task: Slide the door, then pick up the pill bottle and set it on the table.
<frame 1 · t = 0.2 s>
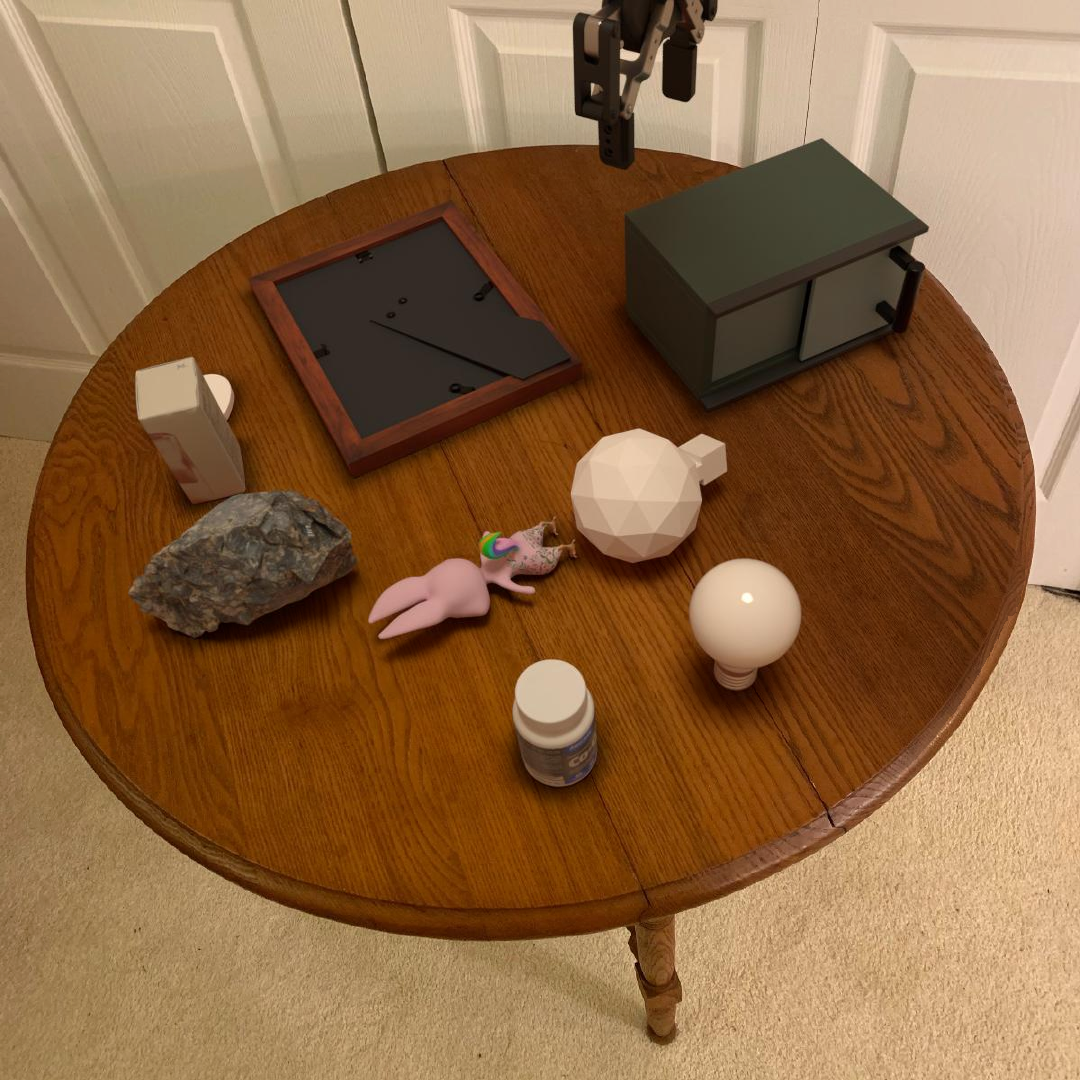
hand: (648, 129, 67), 19 cm above the table, tool pointing down, fingers open, 8 cm apart
rock: (263, 604, 70), on the table
lightbulb: (734, 677, 64), on the table
pill bottle: (560, 753, 62), on the table
door: (867, 311, 75), point 5 cm above the table, slide at 0.0 cm
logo: (195, 403, 82), on the table
cream cardboard box: (217, 478, 78), on the table
rabbit figure: (477, 596, 69), on the table
perfume bottle: (655, 529, 71), on the table
picture frame: (409, 334, 85), on the table
cabinet: (755, 316, 83), on the table
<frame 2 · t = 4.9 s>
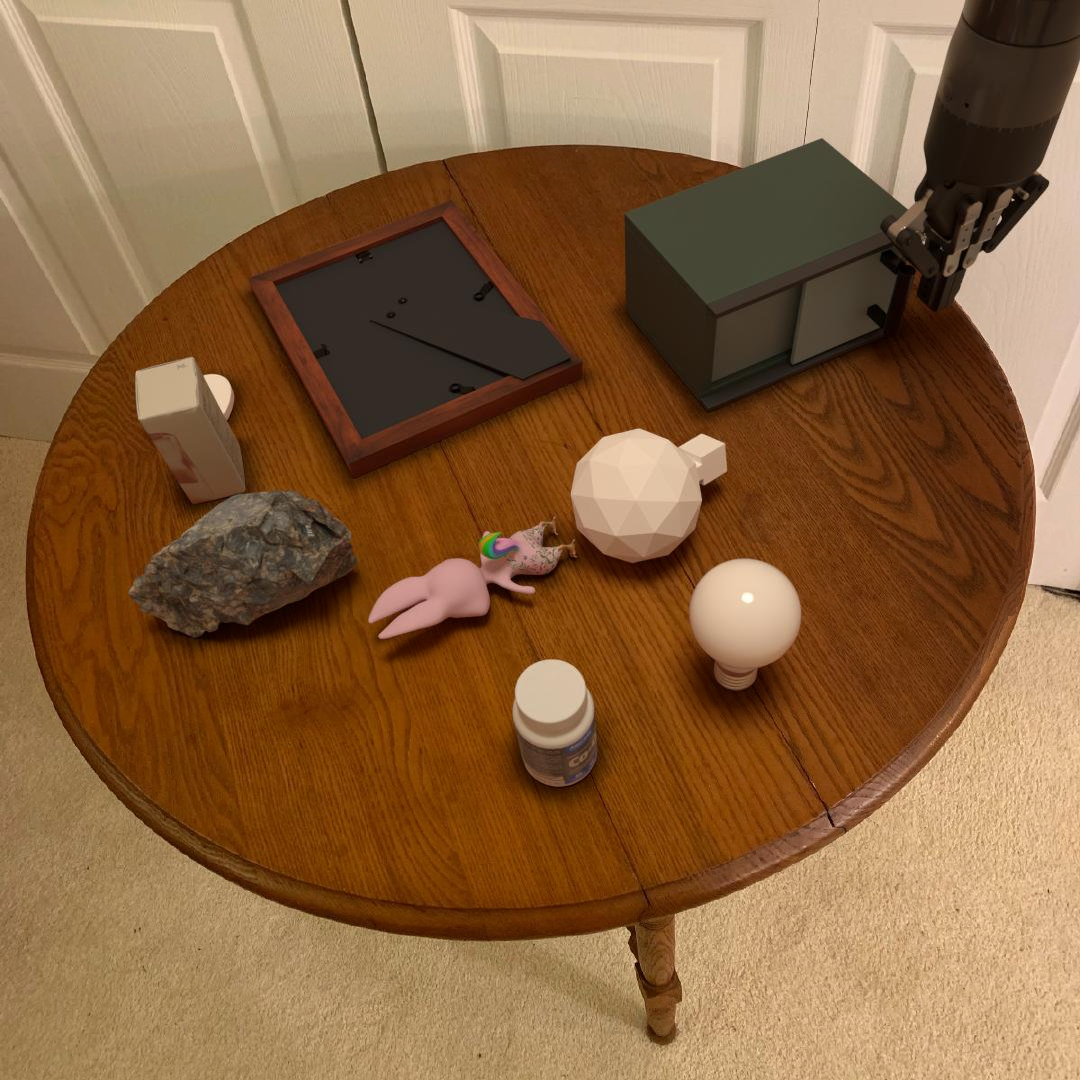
hand: (934, 302, 76), 4 cm above the table, tool pointing down, fingers closed
door: (858, 315, 75), point 5 cm above the table, slide at 0.8 cm, touching hand
everything else where it was.
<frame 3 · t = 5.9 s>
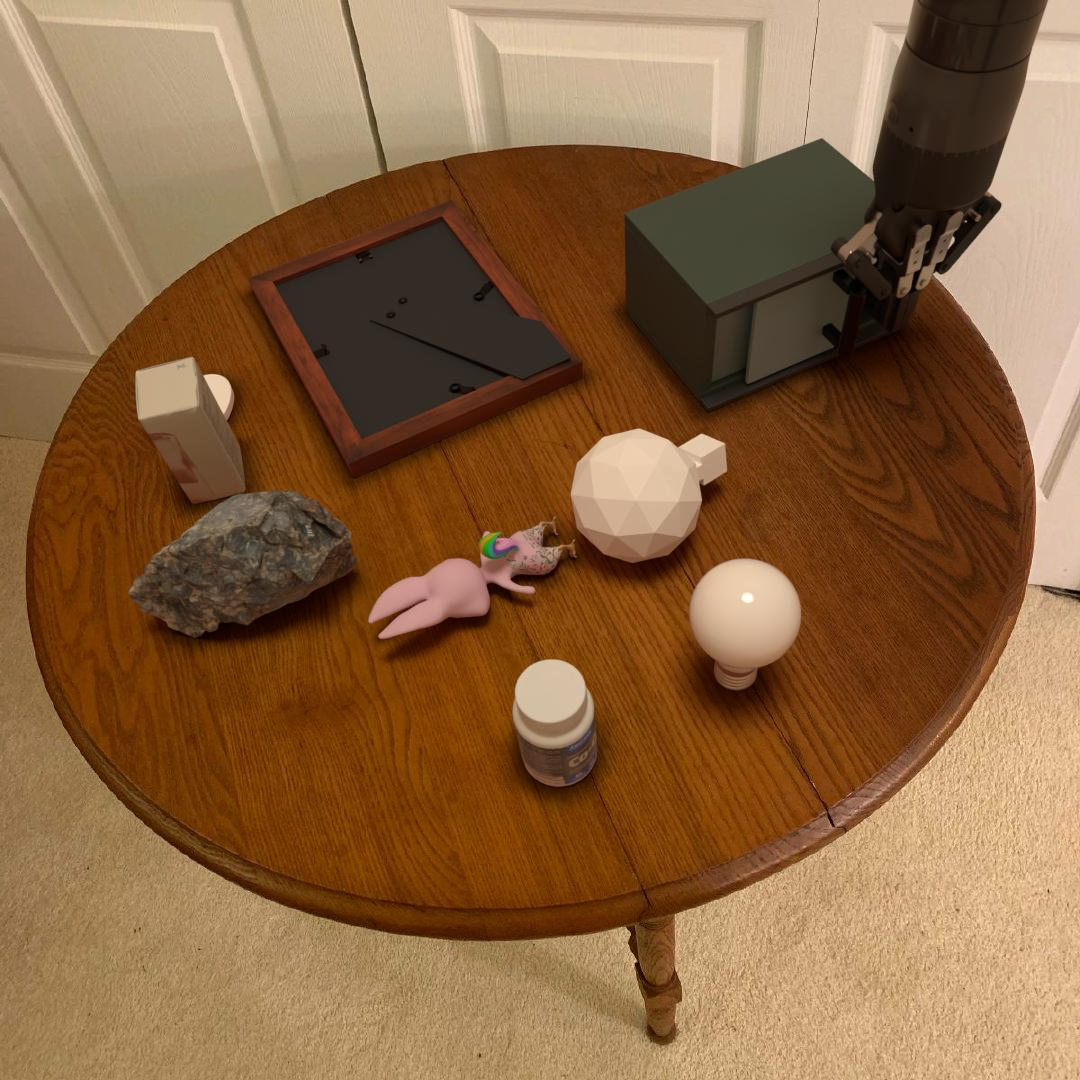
hand: (890, 322, 76), 4 cm above the table, tool pointing down, fingers closed
door: (811, 334, 74), point 5 cm above the table, slide at 5.0 cm, touching hand
everything else where it was.
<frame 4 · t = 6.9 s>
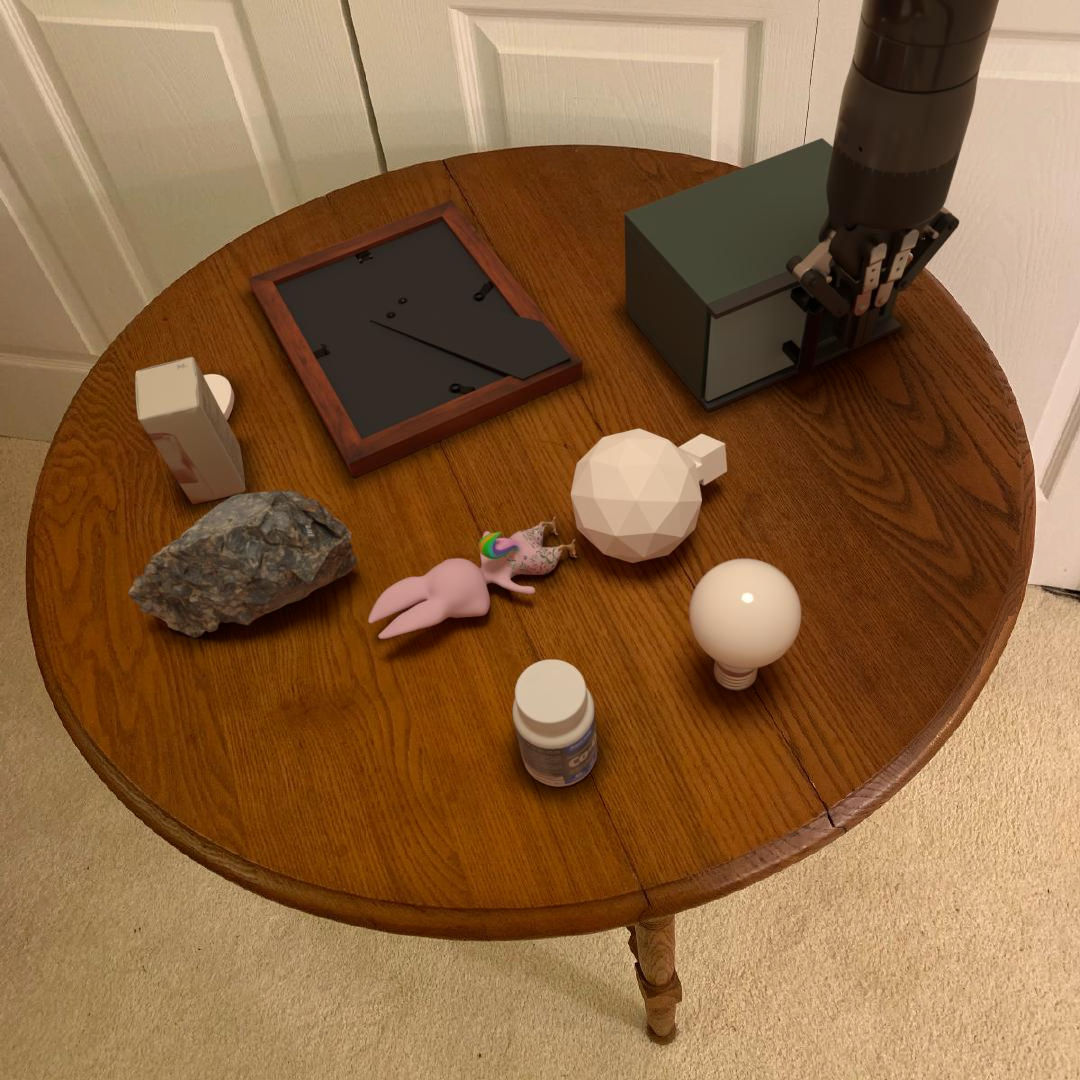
hand: (851, 339, 75), 4 cm above the table, tool pointing down, fingers closed
door: (770, 352, 73), point 5 cm above the table, slide at 8.5 cm, touching hand
everything else where it was.
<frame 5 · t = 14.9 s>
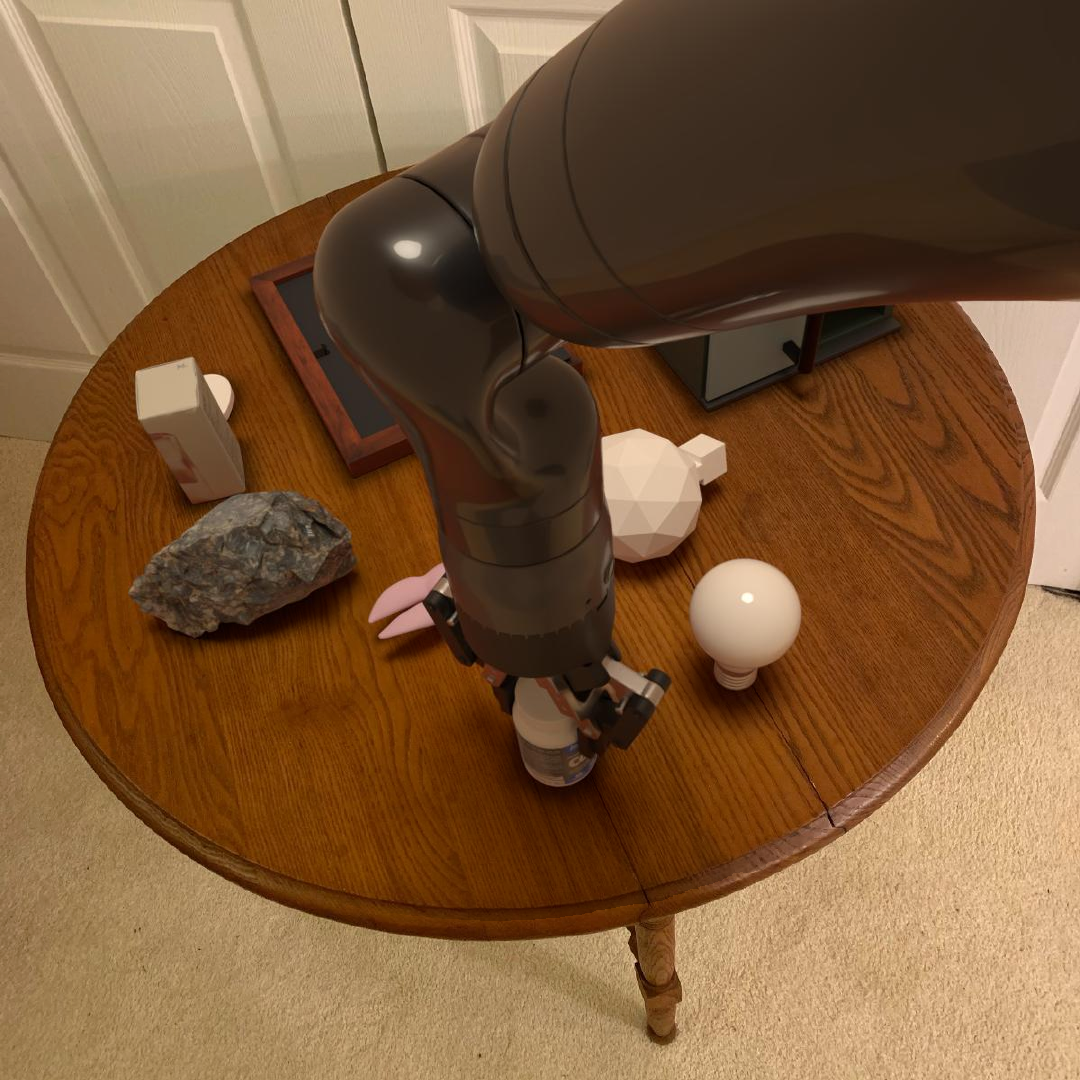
hand: (555, 721, 58), 4 cm above the table, tool pointing down, fingers closed on pill bottle, 4 cm apart
pill bottle: (560, 753, 62), on the table, touching gripper
door: (771, 352, 73), point 5 cm above the table, slide at 8.5 cm
everything else where it was.
when the fingers open (4 cm above the table, at t = 24.7 s): pill bottle stays where it is, on the table.
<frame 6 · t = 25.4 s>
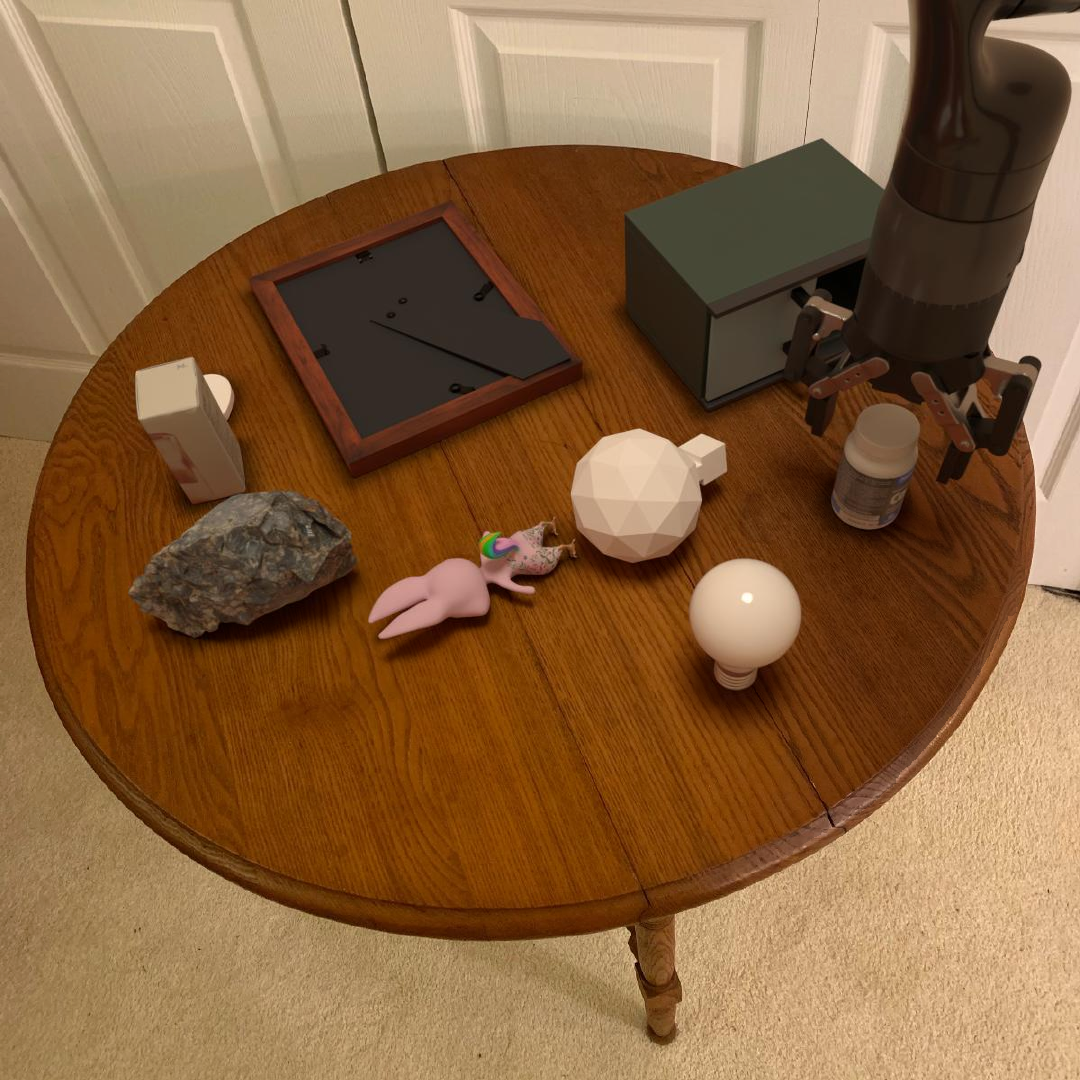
hand: (882, 450, 66), 6 cm above the table, tool pointing down, fingers open, 8 cm apart
pill bottle: (864, 506, 71), on the table
everything else where it was.
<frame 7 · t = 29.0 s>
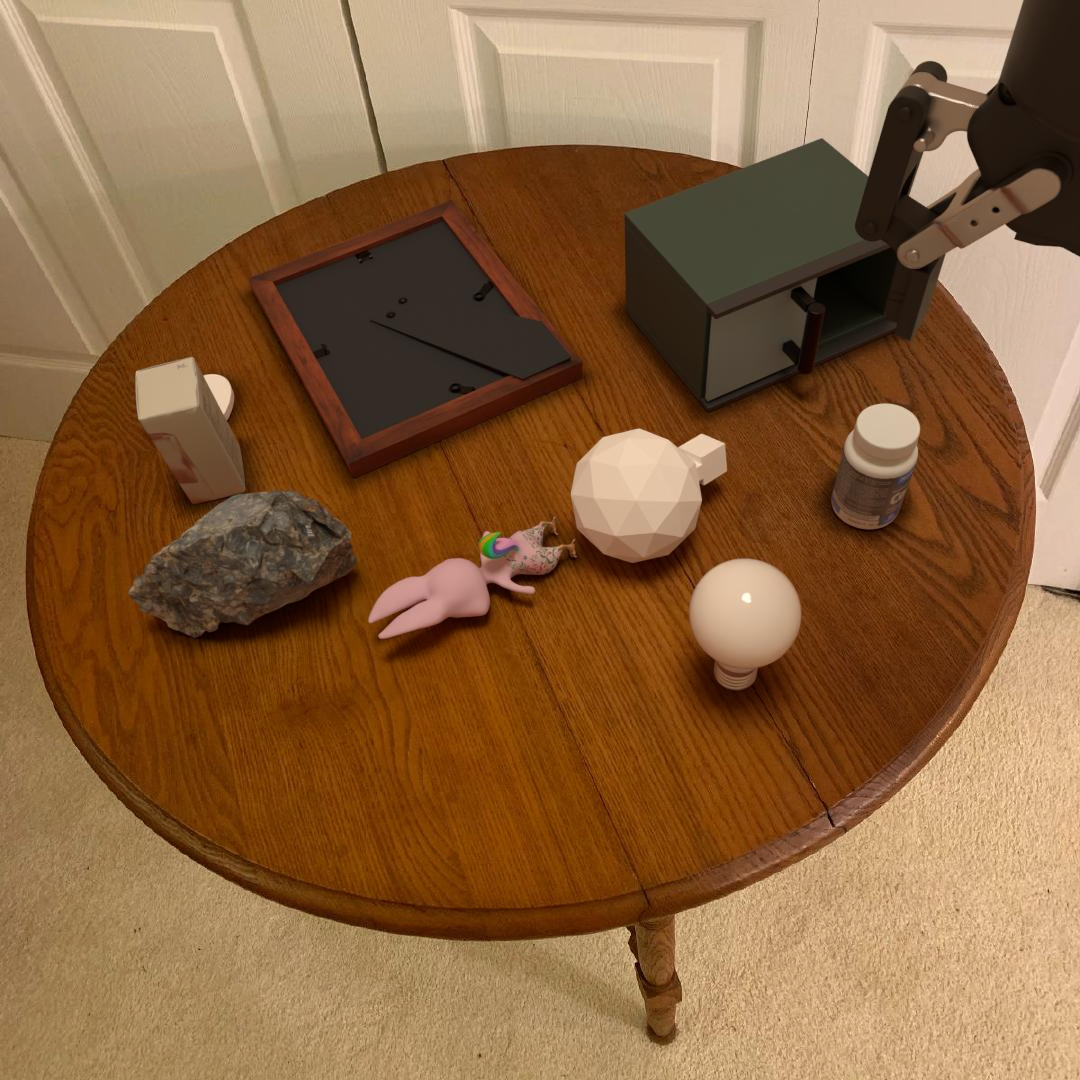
hand: (1014, 361, 40), 28 cm above the table, tool pointing down, fingers open, 8 cm apart
nothing on the table moved.
at the end: door slide at 8.5 cm; pill bottle inside the target area on the table beside the cabinet (0.1 cm from its centre), on the table; pill bottle tilted 0° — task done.
